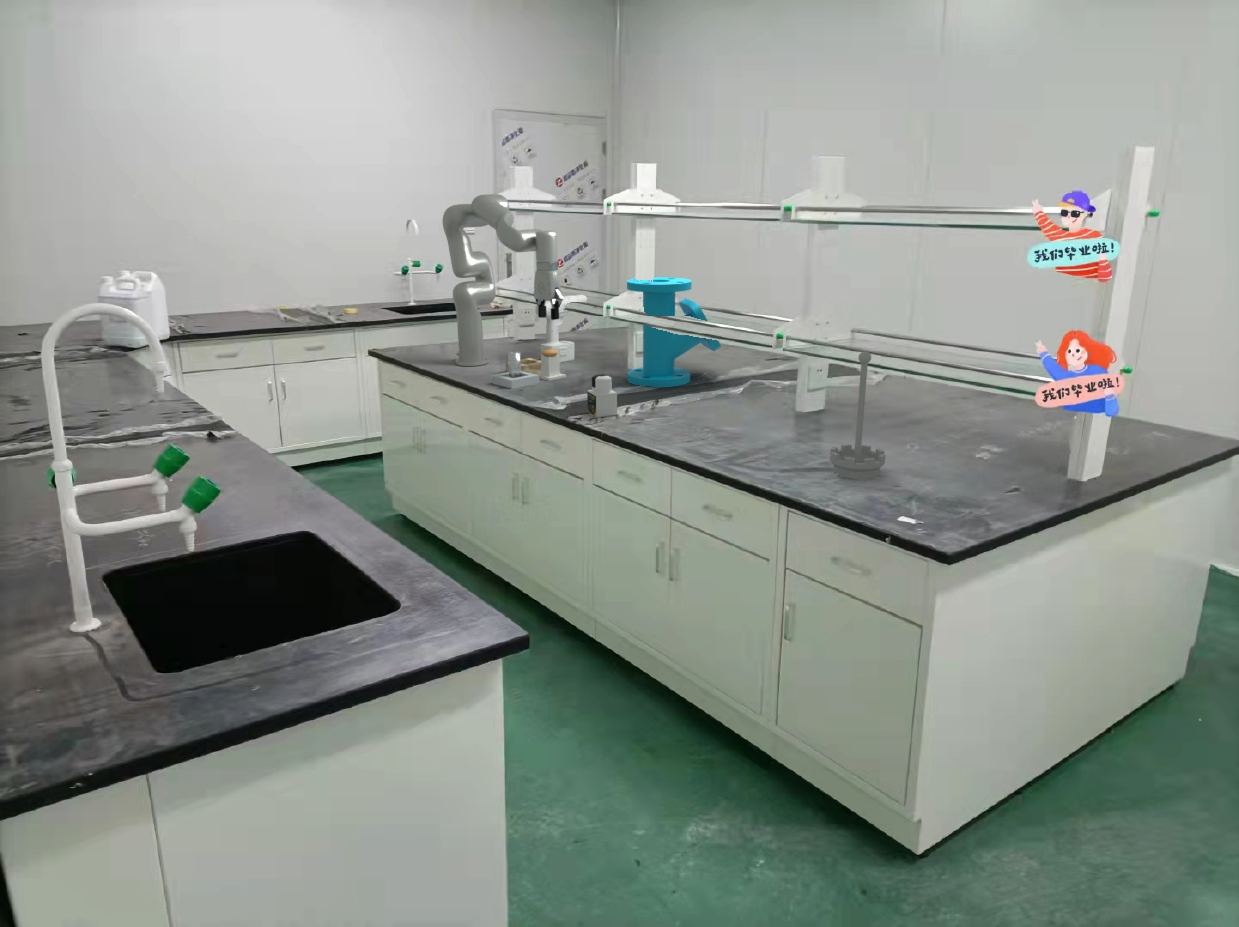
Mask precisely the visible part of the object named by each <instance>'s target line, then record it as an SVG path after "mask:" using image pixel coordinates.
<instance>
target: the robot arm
mask: <svg viewBox="0 0 1239 927" xmlns="http://www.w3.org/2000/svg"><path fill="white" fill-rule="evenodd" d="M509 203H510V202H509V201H508V199H507V197H505V196H504V195H502V194H498V193H493V194H490V193H489V194H480V195H477V196H475V197H474V198H473V199H472V201H471V203H457V204H454V205H451V206H449V207H447V208H446V209H445V210H444V212H443V215H442V229H443V231H444V234H445V238H446V240H447V245H448V252H449V256H450V258H449V259H450V263H451V268H452V272H453V274H454V276H455V277H456V278H459V279H468V278H470V279H471V278H474V279H475V280H468V281H462V282H459V283H457V284H456V285H455V286H454V288H453V290H452V299H453V303H454V307H455V314H456V324H457V326H456V327H457V339H458V351H457V352H455V353H456V354H455V356H458V359H456V360H455V365H457V366H460V367H461V366H462V367H475V366H476V367H478V366H484V365H487V364H488V363H489V359H488V358H487V357H486V358H485V356H484V355H485V353H484V334H483V333H484V331H483V318H482V315H481V312H480V310H479V309H478V306H483V305H484V306H485V305H489V304H491V303H493V302H494V301H495V298H496V294H497V293H496V290H497V289H496V283H495V278H494V272H493V265H492V261H491V259H490V257H489V256H488V254H486V252H483V251H477V250H475V251H473V248H472V242H471V239H470V237H469V235H468V234H467V232H466V231H465V230H464V228H465V229H466V228H480V227H486V226H490V227H491V228H492V229H493V230H495V234H496V236H497V239H498V240H499V242H500V243H501V244H502V245H504V246H505V247H506V248H507V249H509V250H511V251H512V252H514V253H515V252H516V253H529V252H535V262H536V263H535V264H536V270H535V272H534V281H533V295H532V296H533V298H534V299H535V302H536V306H538V315H539V316H538V315H537V316H538V318H540V319H543V318H542V317H546V316H547V315H546V306H544V305H545V303H546V301H550V303H551V306H552V308H551V320H556V319H559V308H560V305H561V302H562V301H563V297H564V296H563V295H562V293H561V292H562V290H561V280H560V274H559V263H558V261H559V258H558V234H557V232H556V231H553V230H542V229H536V228H533V229H516V228H514V227H513V223H514V219H515V218H514V214H513V211H511V210H510V204H509ZM554 302H555V304H554Z"/></svg>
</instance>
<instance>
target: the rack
mask: <svg viewBox="0 0 1239 927" xmlns="http://www.w3.org/2000/svg"><path fill="white" fill-rule="evenodd" d="M521 371H524V372H528V373H532V374H536V375H537V374H541V359H535V358H531V357H527V358H521ZM506 372H509V364H508V361H505V373H506Z"/></svg>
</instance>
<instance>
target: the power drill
mask: <svg viewBox="0 0 1239 927" xmlns="http://www.w3.org/2000/svg"><path fill="white" fill-rule="evenodd" d="M562 297H563V301H562V302H561V305H560V308H559V319H556V320H551V308H552V306H551V303H550V301H546V303H545V305H544V306H546V315H547V316H546V317H542V318H541V319H546V326H545V329H546V332H545V333H546V334H545V335H546V341H545V342H543V343H540V353H541V354H540V357H541V356H542V350H547V349H554V350H558V354H557V355H558V356H559V359H560V364H561V363H567V362H572V361H575V345H576V344H575V342H574V341H571V340H570V341H569V340H559V338H560V336H559V335H560V334H559V331H560V330H559V327H560V326H561V325H563V319H564V317H567V315H568V313H569V312H570V311H567V310H563V309H565V305H566V304H567V303H570V302H586V303H587V302H588V297H587V296H586V295H584V294H576V295H566V296H562ZM554 304H555V302H554ZM535 314H536V315H537V317H539V315H538V306H537V305H536V306H535Z"/></svg>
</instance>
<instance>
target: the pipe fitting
mask: <svg viewBox="0 0 1239 927" xmlns="http://www.w3.org/2000/svg"><path fill="white" fill-rule="evenodd" d="M692 283H693V282H692V280H691V279H688V278H683V277H671V276H670V277H668V276H667V277H664V276H663V277H661V276H660V277H659V276H657V277H656V276H655V277H653V282H652V280H651V282H650V280H640V281H639V280H636V278H629V279H628V280H626V290H628V291H632V292H636V293H637V292H639V293H642V308H643V307H644V312H645V313H646V314H647V315H648V316H675V317H676V293H678V292H686V291H690V290H692ZM678 302H679V307H680V308H681V311H682V312H683V314H684V315H683V316H691V317H694V318H697V319H701V320H705V321H708V319H707V317H706V315H705V313H704V312H703V310H702V308H701V307H700V305H699V304H698V303H697V302H695V301H693V300H692V299H689V298H687V297H685V298H683V299H682V300H681V301H678ZM685 314H686V315H685ZM699 344H701V345H703V347H705V348H707V349H708V350H710V351H713V352H716V351H717V350H719V349H720V348H721V346H722V345H721V343H720V340H718V341H717V340H712V339H706V338H699V337H693V336H689V335H678V334H673V333H670V332H667V331H663V330H658V329H656V328H652V327H650V326H648V325H643V324H642V367H637V368H633V369H631V370H628V372H627V378H626V379H627V382H628V383H629V384H631V383H632V385H634V384H635V386H638V385H641V386H640V387H645V386H651V387H650V388H669V387H678V386H683V385H686V384H689V383H690V382H691V371H689V370H687V369H684V368H682V367H681V368H680V367H675V359H677V358H679V357H681V356H682V355H684V354H685V353H687V352H688V351H691V349H694V348H695V347H696V346H698V345H699Z"/></svg>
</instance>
